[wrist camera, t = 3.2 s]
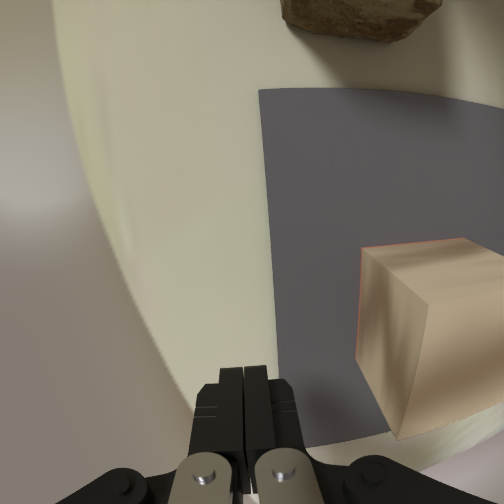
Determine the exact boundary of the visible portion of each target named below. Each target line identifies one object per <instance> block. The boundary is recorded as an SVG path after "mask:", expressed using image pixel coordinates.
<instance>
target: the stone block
mask: <svg viewBox="0 0 504 504" xmlns="http://www.w3.org/2000/svg"><path fill="white" fill-rule="evenodd" d="M280 2H281V9H282V18H283V20H285V21H287V22H288V23H290V24H292V25H295V26H299V27H301V28H303V29H305V30H307V31H312V32H314V33H317V34H323V35H336V36H339V37H346V38H353V37H359V38H366V39H373V40H375V41H377V42H383V43H392V42H395V41H398V40H401V39H404V38H406V37H407V36H408V35H410V34H411V33H412V32H413V31H414V30H415V29H416V28H417V27H418V26H419V25H420V24H421V23H422V21H423V20H424V19H426V18H427V17H428V16H429V15H430V14H431V13H432V12H434V11H435V10H437V9H438V8H439V7H440V6H441V5H442V0H280Z"/></svg>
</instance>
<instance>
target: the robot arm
mask: <svg viewBox="0 0 504 504" xmlns="http://www.w3.org/2000/svg"><path fill="white" fill-rule="evenodd" d="M250 478H251V481H250ZM251 483H252V489H253V494H257V493H258V496H259V503H260V504H497V503H494V502H491V501H488V500H485V499H483V498H480V497H477V496H474V495H472V494H469V493H466V492H464V491H461V490H459V489H456V488H454V487H451V486H449V485H446V484H444V483H442V482H439V481H437V480H434V479H432V478H430V477H427V476H425V475H423V474H421V473H419V472H417V471H414V470H412V469H410V468H408V467H406V466H404V465H402V464H399V463H397V462H395V461H393V460H391V459H389V458H387V457H384V456H379V455H369V456H364V457H361V458H359V459H357V460H355V461H354V462H353V463H351V464H350V466H340V465H329V464H324V463H321V462H319V461H317V460H315V459H313V458H312V457H311V456H310V455H309V454H308V453H307V451H306V449H305V446H304V441H303V436H302V432H301V427H300V422H299V417H298V412H297V407H296V403H295V398H294V393H293V388H292V387H291V386H290V385H289V384H288V382H287V381H286V380H285V379H284V378H282V379H272V380H268V376H267V367H266V365H259V366H247V367H244V373H243V367H234V368H220V375H219V383H217V384H205V385H204V386H203V388H202V389H201V390H200V392H199V393H198V394H197V400H196V408H195V412H194V419H193V425H192V432H191V438H190V445H189V452H188V456H187V458H185V459H184V460H183V461H182V462H181V463H180V464H179V466H178V468H177V469H176V470H174V471H172V472H170V473H166V474H162V475H157V476H152V477H147V478H144V477H143V476H142V475H141V474H140V473H139V472H137V471H135V470H133V469H129V468H116V469H113V470H110V471H108V472H106V473H105V474H103V475H102V476H100V477H98V478H97V479H95V480H94V481H92V482H91V483H89V484H87V485H86V486H84V487H83V488H81V489H79V490H78V491H76V492H75V493H73V494H71V495H69V496H68V497H66V498H65V499H63V500H61V501H59V502H58V503H56V504H243V494H251Z"/></svg>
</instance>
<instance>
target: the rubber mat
mask: <svg viewBox="0 0 504 504" xmlns="http://www.w3.org/2000/svg"><path fill="white" fill-rule="evenodd" d="M258 93H259V104H260V115H261V126H262V137H263V149H264V161H265V173H266V186H267V199H268V212H269V225H270V239H271V253H272V268H273V283H274V298H275V314H276V331H277V348H278V366H279V379H282V378H284V379H285V380H286V381H287V382H288V384H289V385H290V386H291V387H292V388H293V393H294V398H295V403H296V407H297V412H298V417H299V422H300V427H301V432H302V436H303V441H304V446H305V448H309V447H316V446H322V445H328V444H333V443H339V442H344V441H349V440H354V439H359V438H363V437H368V436H372V435H376V434H380V433H384V432H388V431H391V429H390V427H389V425H388V423H387V421H386V419H385V417H384V415H383V413H382V411H381V409H380V407H379V405H378V403H377V401H376V399H375V397H374V395H373V393H372V391H371V389H370V387H369V385H368V383H367V381H366V379H365V377H364V375H363V373H362V371H361V369H360V367H359V365H358V363H357V361H356V360H355V354H356V342H357V330H358V315H359V297H360V272H361V248H362V247H373V246H383V245H394V244H404V243H415V242H425V241H435V240H446V239H456V238H465V239H468V240H470V241H472V242H474V243H476V244H478V245H481V246H483V247H485V248H487V249H489V250H491V251H493V252H495V253H497V254H499V255H502V256H504V109H501V108H497V107H492V106H488V105H483V104H478V103H473V102H468V101H463V100H457V99H451V98H445V97H438V96H431V95H424V94H416V93H407V92H397V91H385V90H371V89H352V88H280V89H261V90H258Z"/></svg>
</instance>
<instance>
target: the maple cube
mask: <svg viewBox="0 0 504 504" xmlns="http://www.w3.org/2000/svg"><path fill="white" fill-rule="evenodd" d="M355 360H356V361H357V363H358V365H359V367H360V369H361V371H362V373H363V375H364V377H365V379H366V381H367V383H368V385H369V387H370V389H371V391H372V393H373V395H374V397H375V399H376V401H377V403H378V405H379V407H380V409H381V411H382V413H383V415H384V417H385V419H386V421H387V423H388V425H389V427H390V429H391V431H392V433H393V435H394V437H395V439H396V441H399V440H402V439H406V438H409V437H412V436H416V435H419V434H422V433H425V432H428V431H431V430H434V429H437V428H440V427H442V426H445V425H448V424H451V423H453V422H456V421H458V420H461V419H463V418H466V417H468V416H471V415H473V414H475V413H478V412H480V411H482V410H485V409H487V408H489V407H491V406H493V405H496V404H498V403H500V402H502V401H504V256H502V255H499V254H497V253H495V252H493V251H491V250H489V249H487V248H485V247H483V246H481V245H478V244H476V243H474V242H472V241H470V240H468V239H465V238H456V239H446V240H435V241H425V242H415V243H404V244H394V245H383V246H373V247H362V248H361V272H360V297H359V315H358V330H357V342H356V354H355Z"/></svg>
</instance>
